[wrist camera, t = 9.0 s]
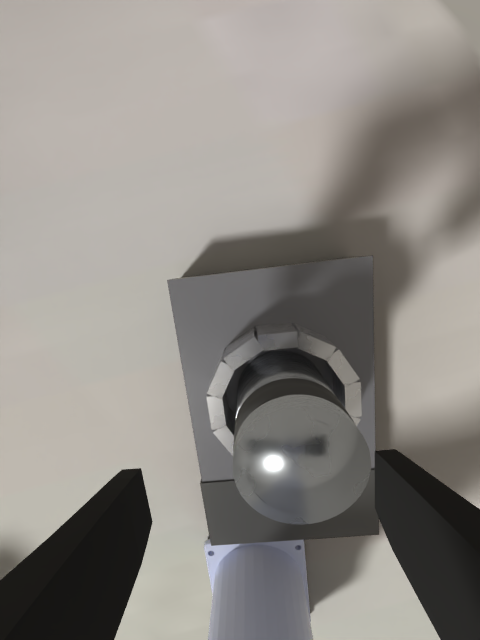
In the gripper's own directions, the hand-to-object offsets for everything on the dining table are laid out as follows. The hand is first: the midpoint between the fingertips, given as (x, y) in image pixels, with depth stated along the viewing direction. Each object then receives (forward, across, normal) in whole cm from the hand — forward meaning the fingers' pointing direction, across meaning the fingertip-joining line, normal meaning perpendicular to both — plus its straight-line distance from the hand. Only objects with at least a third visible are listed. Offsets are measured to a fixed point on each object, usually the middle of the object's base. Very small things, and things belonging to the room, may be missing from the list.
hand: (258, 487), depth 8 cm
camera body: (+10, -2, +3) cm, 11 cm away
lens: (+7, -2, +1) cm, 8 cm away
